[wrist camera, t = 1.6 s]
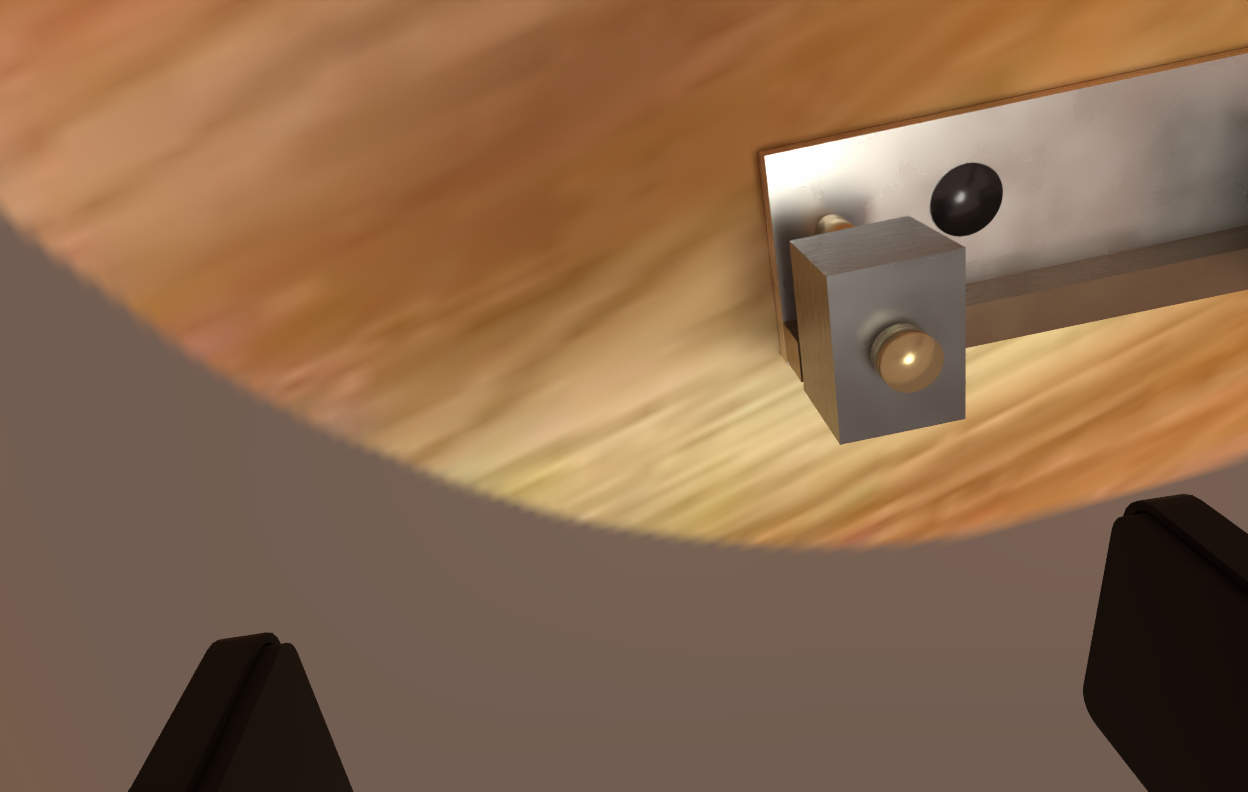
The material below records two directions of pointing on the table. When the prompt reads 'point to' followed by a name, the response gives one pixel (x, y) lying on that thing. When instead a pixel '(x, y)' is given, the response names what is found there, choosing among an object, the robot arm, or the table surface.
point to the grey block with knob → (881, 325)
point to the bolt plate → (1045, 196)
